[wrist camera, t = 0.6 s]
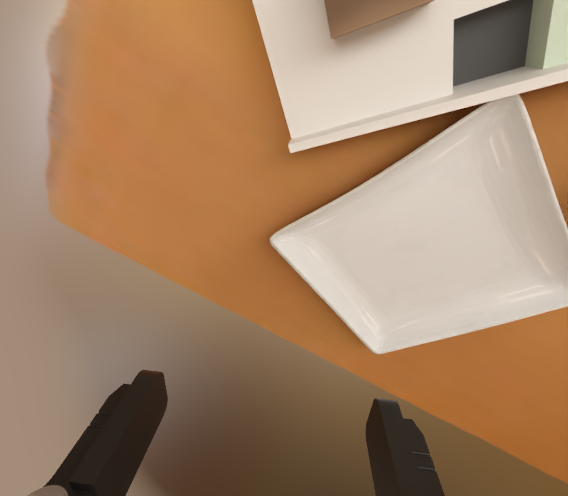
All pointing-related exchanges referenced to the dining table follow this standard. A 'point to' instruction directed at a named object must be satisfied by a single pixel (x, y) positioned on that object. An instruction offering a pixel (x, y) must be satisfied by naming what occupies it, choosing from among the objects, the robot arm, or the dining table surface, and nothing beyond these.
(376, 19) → the walnut block
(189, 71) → the dining table surface
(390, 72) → the box
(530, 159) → the square plate
